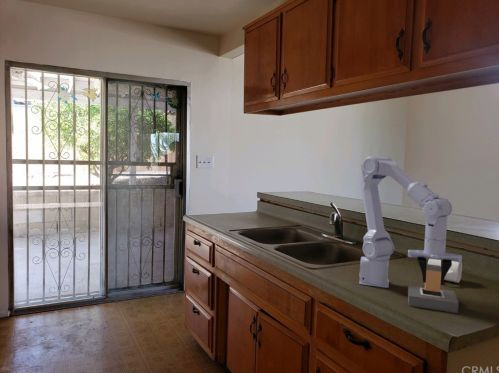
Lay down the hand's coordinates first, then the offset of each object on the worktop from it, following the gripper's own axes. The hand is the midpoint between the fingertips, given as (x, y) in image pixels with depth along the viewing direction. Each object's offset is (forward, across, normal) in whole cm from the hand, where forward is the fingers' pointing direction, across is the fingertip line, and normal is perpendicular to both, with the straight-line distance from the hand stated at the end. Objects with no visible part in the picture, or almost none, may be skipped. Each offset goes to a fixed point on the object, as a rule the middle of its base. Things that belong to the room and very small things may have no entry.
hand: (432, 282), depth 116 cm
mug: (+6, +6, +26) cm, 27 cm away
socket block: (+6, 0, 0) cm, 6 cm away
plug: (+2, 0, 0) cm, 2 cm away
